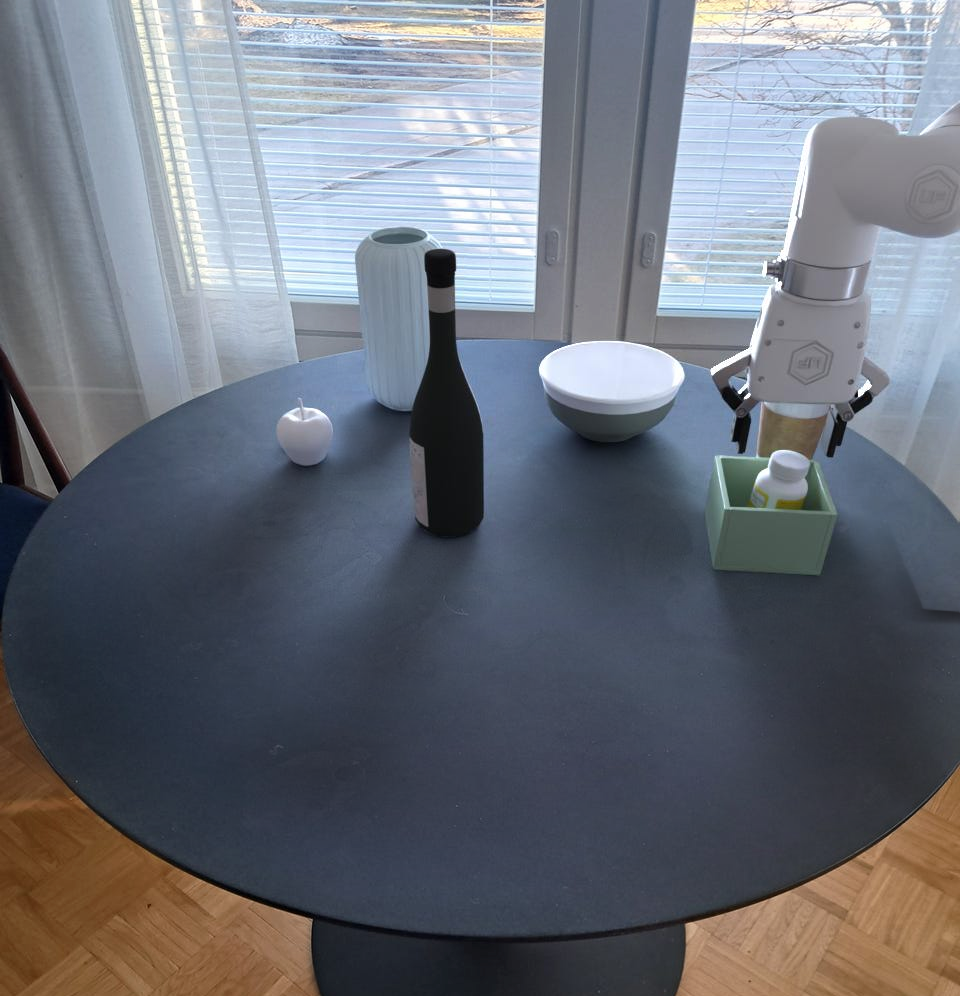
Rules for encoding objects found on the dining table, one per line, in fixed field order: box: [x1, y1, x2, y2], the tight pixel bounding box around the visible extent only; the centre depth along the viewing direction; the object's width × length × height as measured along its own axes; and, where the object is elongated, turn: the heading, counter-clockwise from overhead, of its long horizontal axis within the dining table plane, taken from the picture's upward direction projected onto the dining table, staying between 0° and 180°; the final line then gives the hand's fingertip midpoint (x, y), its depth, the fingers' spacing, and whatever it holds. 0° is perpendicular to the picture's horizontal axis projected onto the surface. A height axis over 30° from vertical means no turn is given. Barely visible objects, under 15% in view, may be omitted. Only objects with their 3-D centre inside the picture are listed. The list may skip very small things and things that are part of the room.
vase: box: [354, 225, 443, 412], centre depth 121 cm, size 12×12×22 cm
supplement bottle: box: [747, 450, 810, 510], centre depth 96 cm, size 5×5×10 cm
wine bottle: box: [408, 248, 485, 538], centre depth 94 cm, size 8×8×30 cm
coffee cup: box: [755, 401, 832, 460], centre depth 106 cm, size 8×8×15 cm
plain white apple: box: [275, 397, 334, 467], centre depth 113 cm, size 7×7×8 cm
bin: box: [704, 455, 838, 576], centre depth 98 cm, size 11×11×8 cm
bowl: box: [538, 340, 686, 443], centre depth 119 cm, size 19×19×8 cm
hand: (782, 448), depth 93 cm, fingers open, 8 cm apart
